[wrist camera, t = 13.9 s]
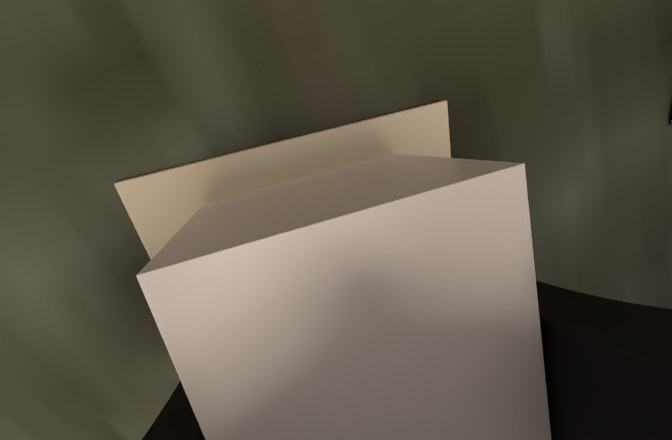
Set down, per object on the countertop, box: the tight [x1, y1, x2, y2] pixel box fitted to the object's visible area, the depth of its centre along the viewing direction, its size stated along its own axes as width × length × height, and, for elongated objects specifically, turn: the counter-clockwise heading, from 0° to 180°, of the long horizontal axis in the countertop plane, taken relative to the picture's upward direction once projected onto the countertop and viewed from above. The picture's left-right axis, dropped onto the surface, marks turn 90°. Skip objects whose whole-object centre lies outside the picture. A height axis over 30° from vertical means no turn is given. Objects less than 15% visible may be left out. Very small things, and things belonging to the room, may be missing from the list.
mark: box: [114, 100, 451, 259], centre depth 12 cm, size 10×10×1 cm
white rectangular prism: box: [136, 154, 551, 440], centre depth 9 cm, size 10×6×6 cm, turn 11°
